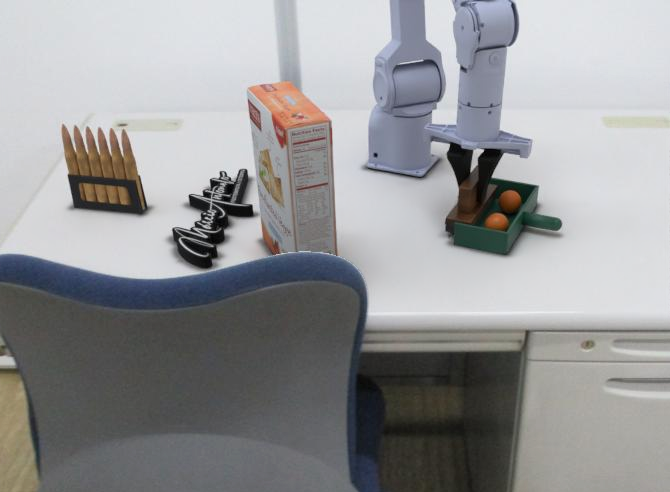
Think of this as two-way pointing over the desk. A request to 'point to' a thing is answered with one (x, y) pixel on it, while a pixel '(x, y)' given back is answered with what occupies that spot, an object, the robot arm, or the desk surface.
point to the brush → (470, 203)
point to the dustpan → (523, 216)
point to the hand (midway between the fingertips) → (472, 198)
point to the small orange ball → (497, 222)
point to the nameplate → (212, 218)
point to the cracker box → (293, 169)
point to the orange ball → (509, 201)
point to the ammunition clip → (103, 173)
